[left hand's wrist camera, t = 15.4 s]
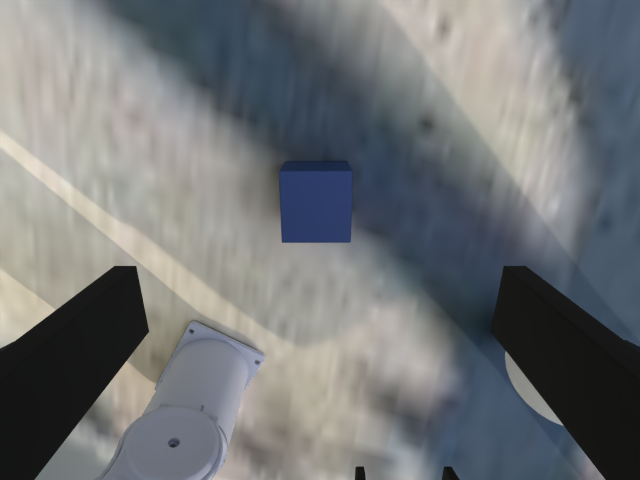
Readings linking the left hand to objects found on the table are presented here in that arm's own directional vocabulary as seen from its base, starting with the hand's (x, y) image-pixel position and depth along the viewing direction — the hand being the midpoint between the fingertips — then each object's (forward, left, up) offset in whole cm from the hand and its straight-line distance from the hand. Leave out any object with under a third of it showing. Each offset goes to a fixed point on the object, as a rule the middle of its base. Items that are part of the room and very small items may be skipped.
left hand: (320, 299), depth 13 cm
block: (0, 0, -18) cm, 18 cm away
